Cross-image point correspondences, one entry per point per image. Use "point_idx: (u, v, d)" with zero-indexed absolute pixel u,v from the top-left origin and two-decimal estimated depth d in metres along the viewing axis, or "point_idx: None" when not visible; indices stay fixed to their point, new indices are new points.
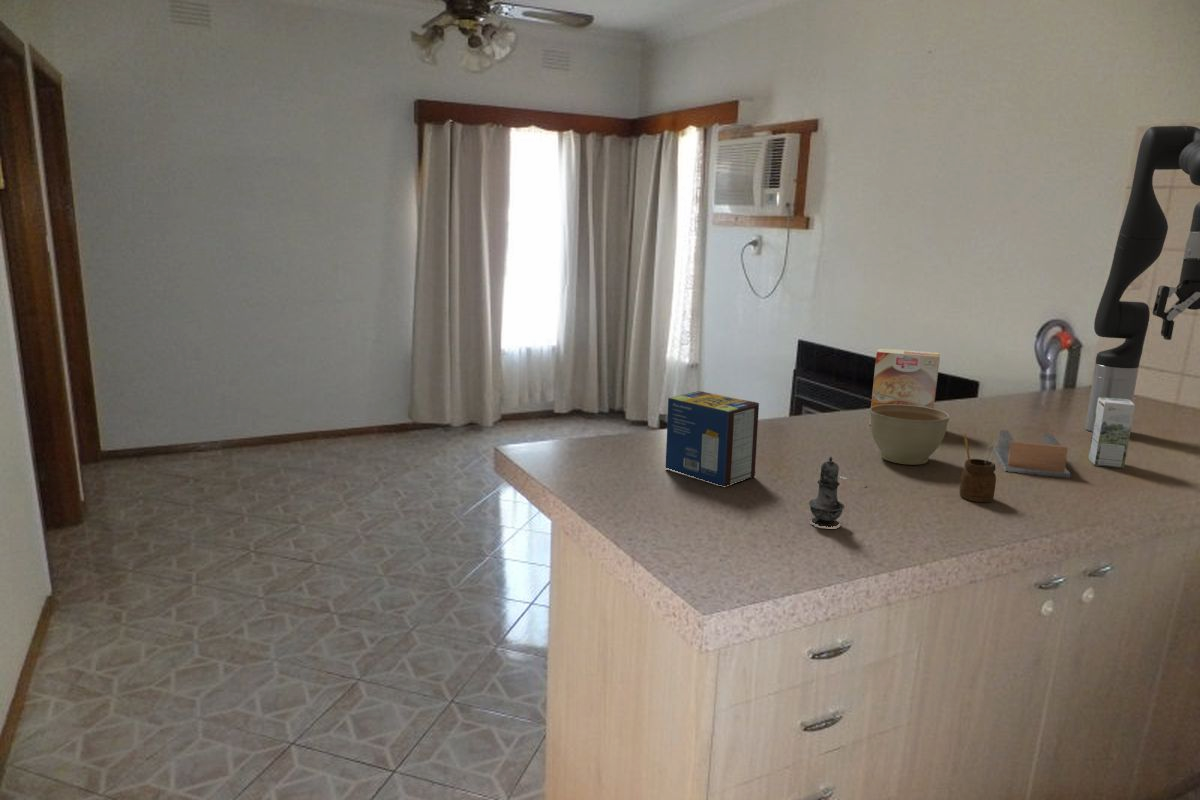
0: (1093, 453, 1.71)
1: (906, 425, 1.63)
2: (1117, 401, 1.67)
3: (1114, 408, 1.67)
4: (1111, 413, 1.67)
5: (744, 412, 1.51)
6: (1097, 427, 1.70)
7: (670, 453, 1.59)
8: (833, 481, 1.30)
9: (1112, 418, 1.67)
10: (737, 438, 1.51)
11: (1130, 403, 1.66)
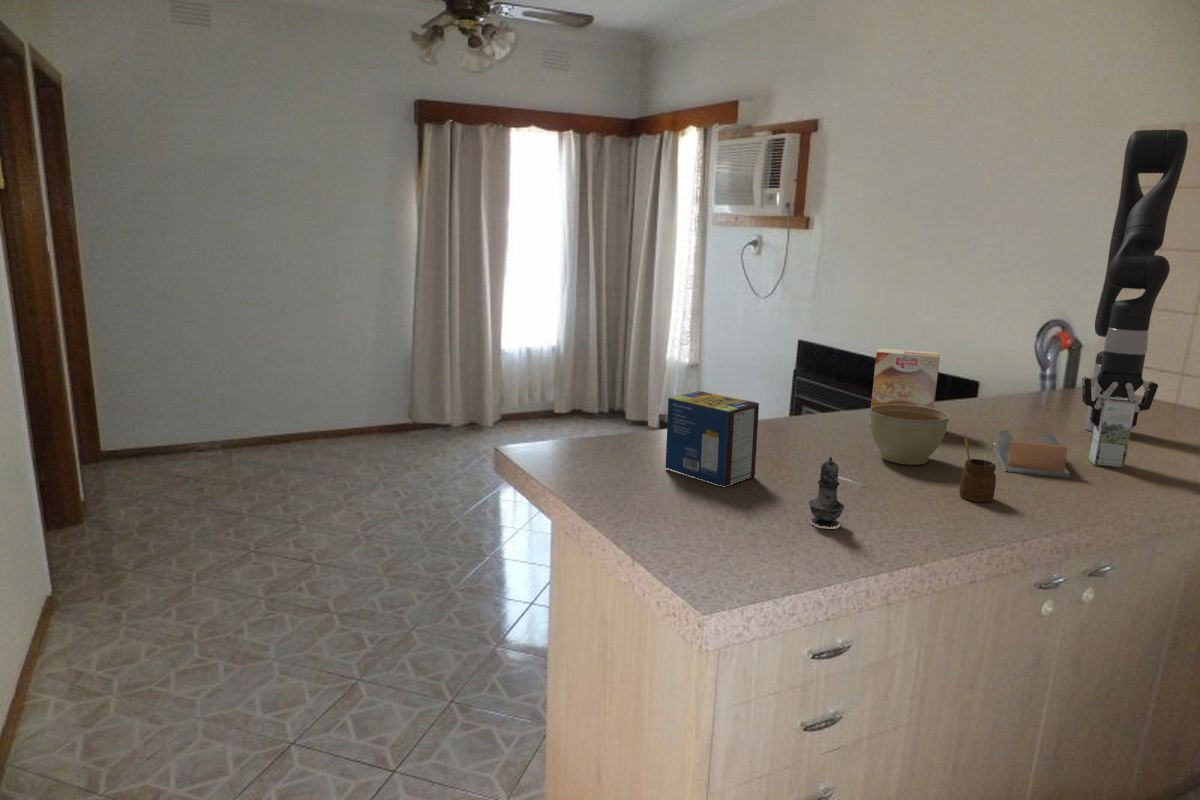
0: (1093, 453, 1.71)
1: (906, 425, 1.63)
2: (1117, 401, 1.67)
3: (1115, 408, 1.67)
4: (1111, 413, 1.67)
5: (744, 412, 1.51)
6: (1097, 427, 1.70)
7: (670, 453, 1.59)
8: (833, 481, 1.30)
9: (1112, 418, 1.67)
10: (737, 438, 1.51)
11: (1130, 403, 1.66)
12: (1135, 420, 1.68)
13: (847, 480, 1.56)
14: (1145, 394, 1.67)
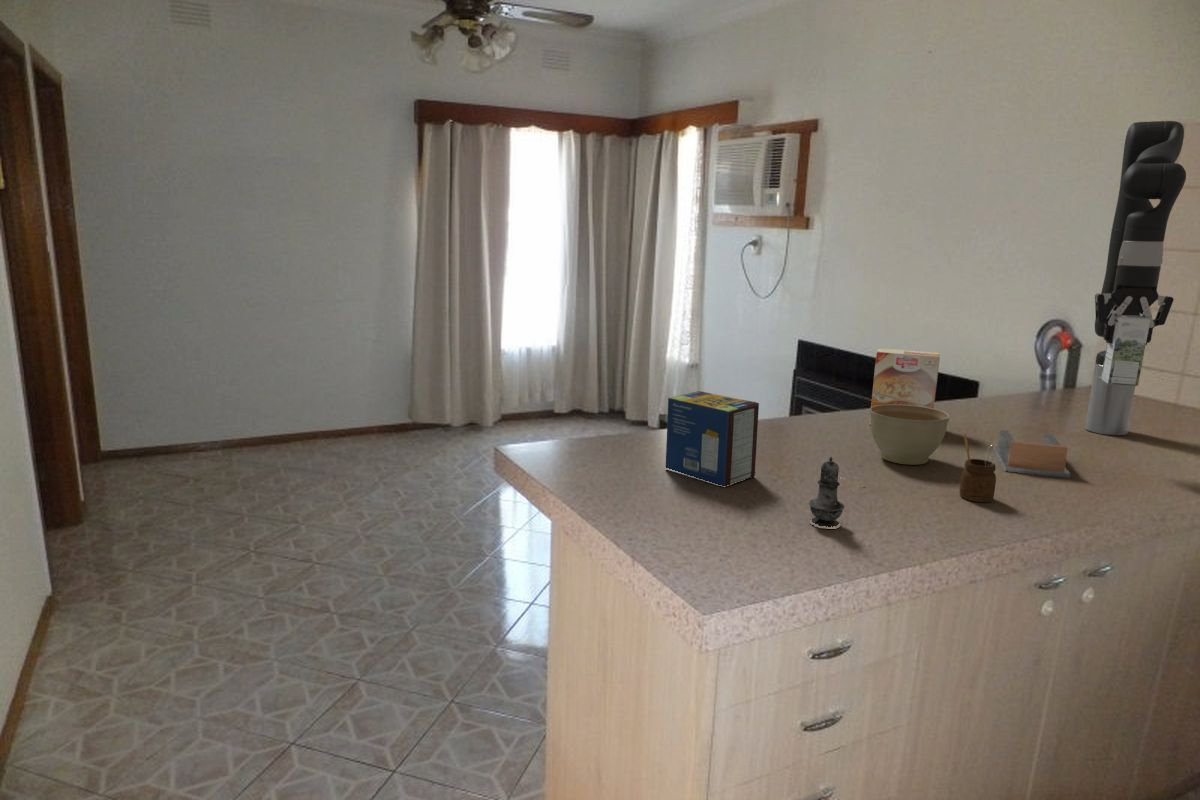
0: (1106, 372, 1.68)
1: (906, 425, 1.63)
2: (1131, 317, 1.63)
3: (1129, 323, 1.63)
4: (1125, 329, 1.63)
5: (744, 412, 1.51)
6: (1111, 345, 1.66)
7: (670, 453, 1.59)
8: (833, 481, 1.30)
9: (1126, 334, 1.63)
10: (736, 438, 1.51)
11: (1145, 318, 1.62)
12: (1150, 336, 1.64)
13: None
14: (1160, 309, 1.63)
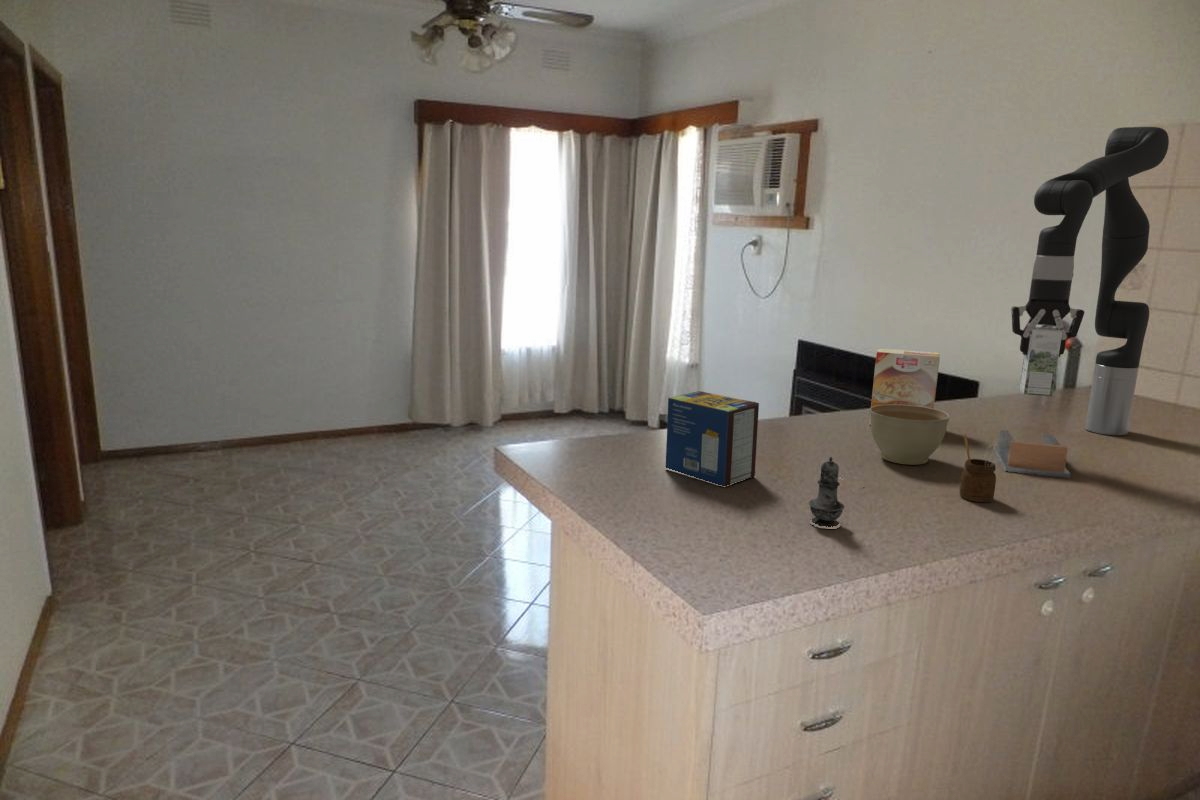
0: (1023, 382, 1.72)
1: (906, 425, 1.63)
2: (1045, 329, 1.68)
3: (1042, 335, 1.67)
4: (1039, 341, 1.67)
5: (744, 412, 1.51)
6: (1026, 356, 1.71)
7: (670, 453, 1.59)
8: (833, 481, 1.30)
9: (1040, 346, 1.68)
10: (737, 438, 1.51)
11: (1057, 330, 1.67)
12: (1063, 348, 1.68)
13: None
14: (1072, 322, 1.67)
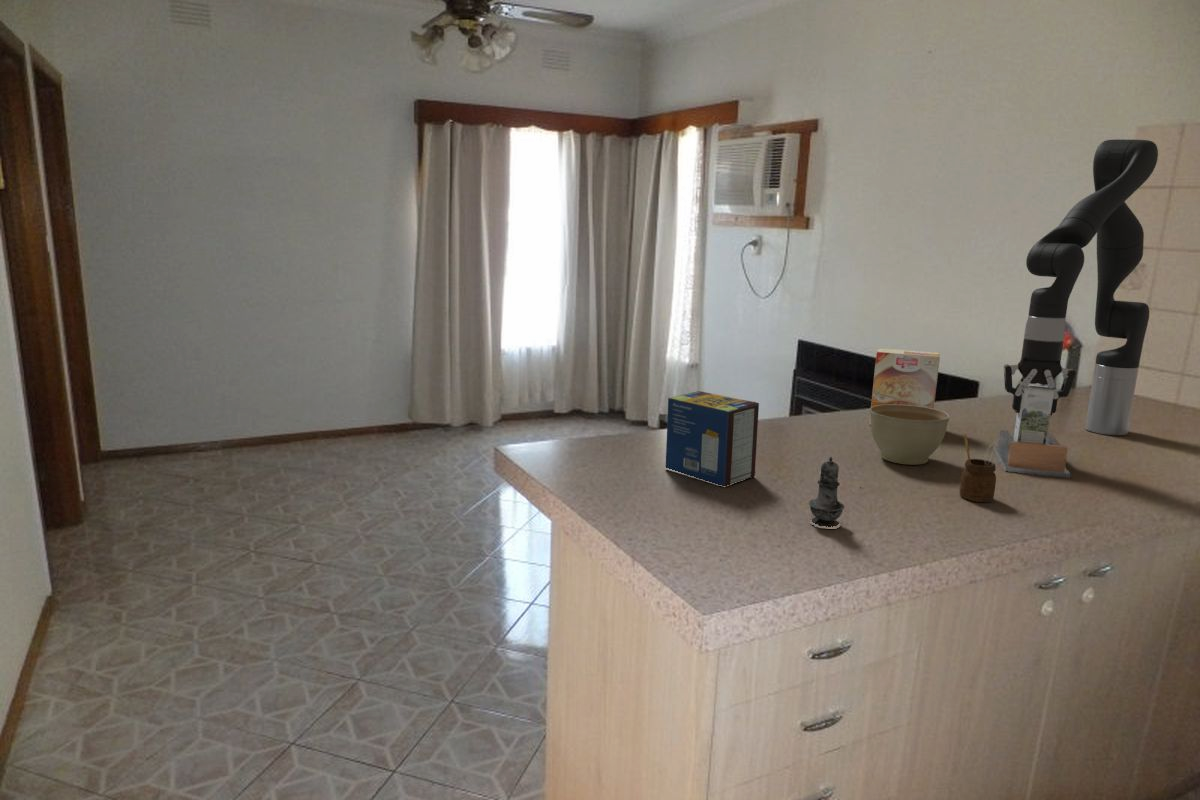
0: (1015, 440, 1.74)
1: (906, 425, 1.63)
2: (1037, 388, 1.69)
3: (1034, 395, 1.69)
4: (1031, 400, 1.69)
5: (744, 412, 1.51)
6: (1018, 414, 1.72)
7: (670, 453, 1.59)
8: (833, 481, 1.30)
9: (1032, 405, 1.69)
10: (737, 438, 1.51)
11: (1049, 390, 1.68)
12: (1055, 407, 1.70)
13: None
14: (1064, 381, 1.69)
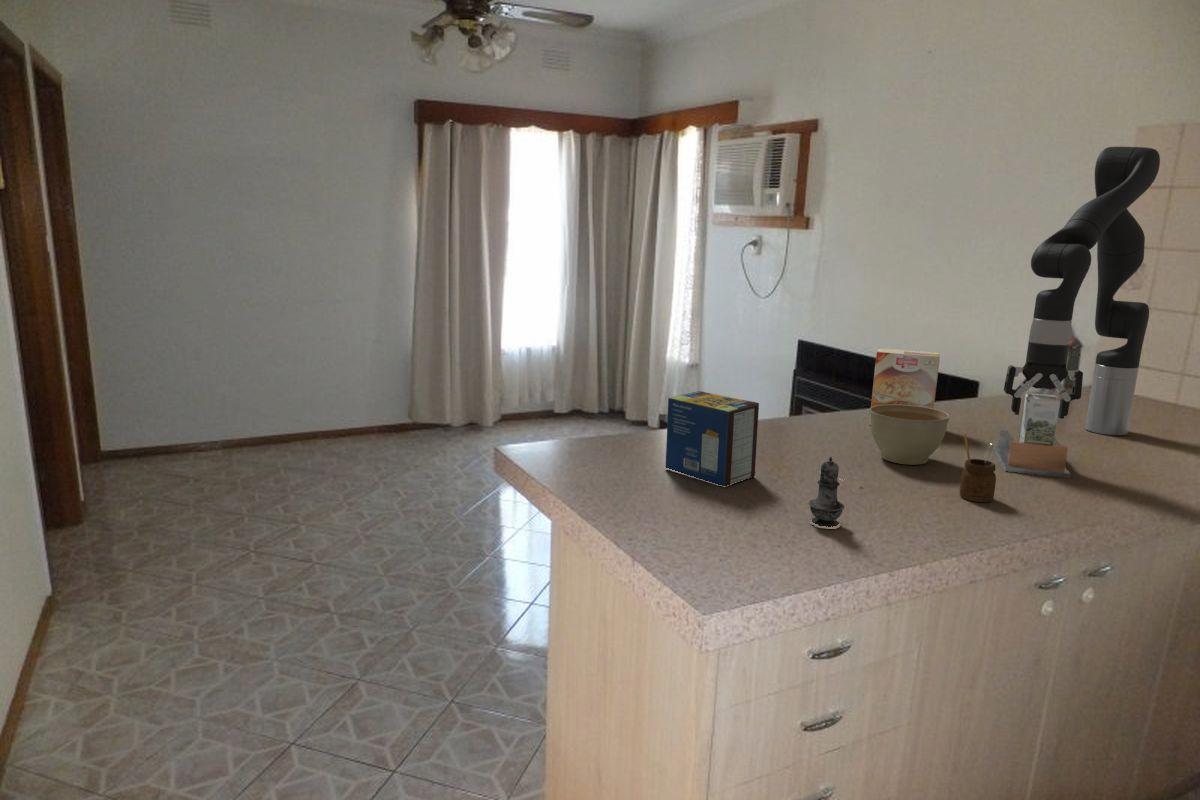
0: None
1: (906, 425, 1.63)
2: (1043, 397, 1.65)
3: (1040, 404, 1.64)
4: (1036, 410, 1.64)
5: (744, 412, 1.51)
6: (1024, 424, 1.68)
7: (670, 453, 1.59)
8: (833, 481, 1.30)
9: (1037, 414, 1.64)
10: (737, 438, 1.51)
11: (1055, 399, 1.63)
12: (1066, 410, 1.64)
13: None
14: (1073, 384, 1.64)
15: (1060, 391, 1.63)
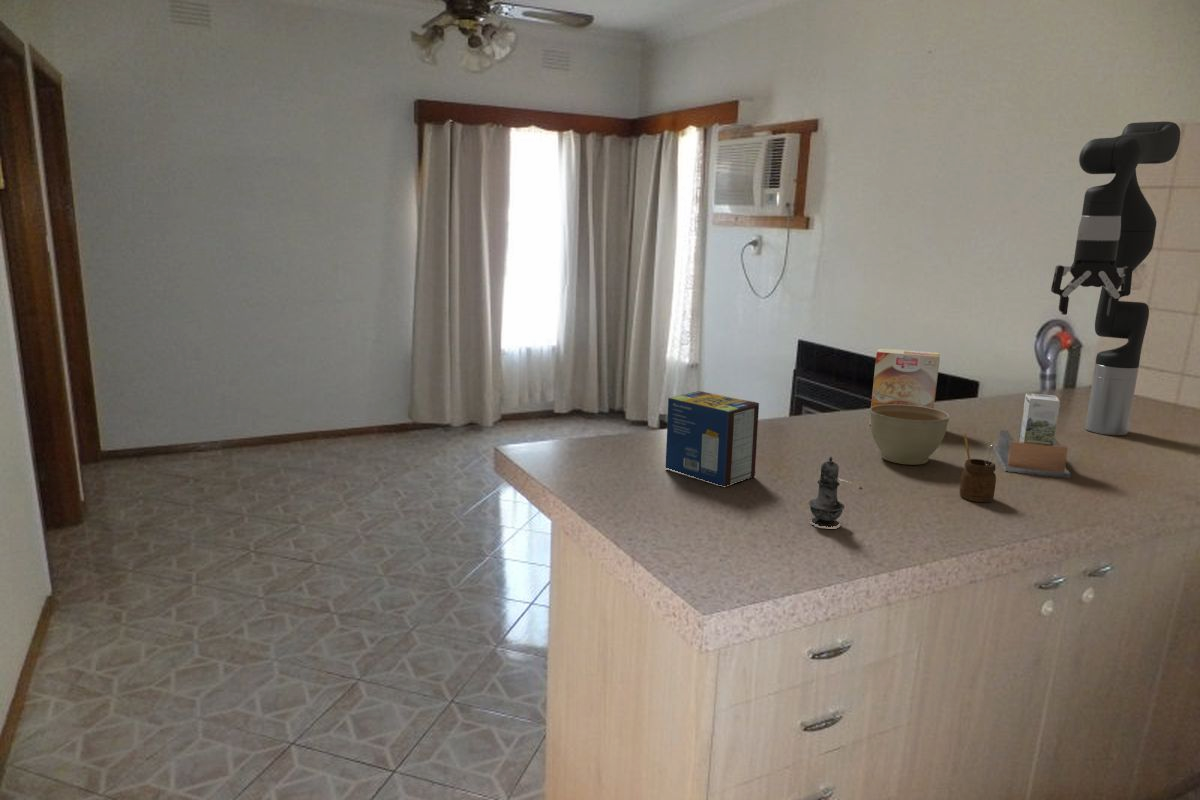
0: None
1: (906, 425, 1.63)
2: (1043, 397, 1.65)
3: (1040, 404, 1.64)
4: (1036, 410, 1.64)
5: (744, 412, 1.51)
6: (1024, 424, 1.68)
7: (670, 453, 1.59)
8: (833, 481, 1.30)
9: (1037, 414, 1.64)
10: (737, 438, 1.51)
11: (1055, 399, 1.63)
12: (1115, 307, 1.65)
13: None
14: (1122, 281, 1.64)
15: (1109, 288, 1.64)
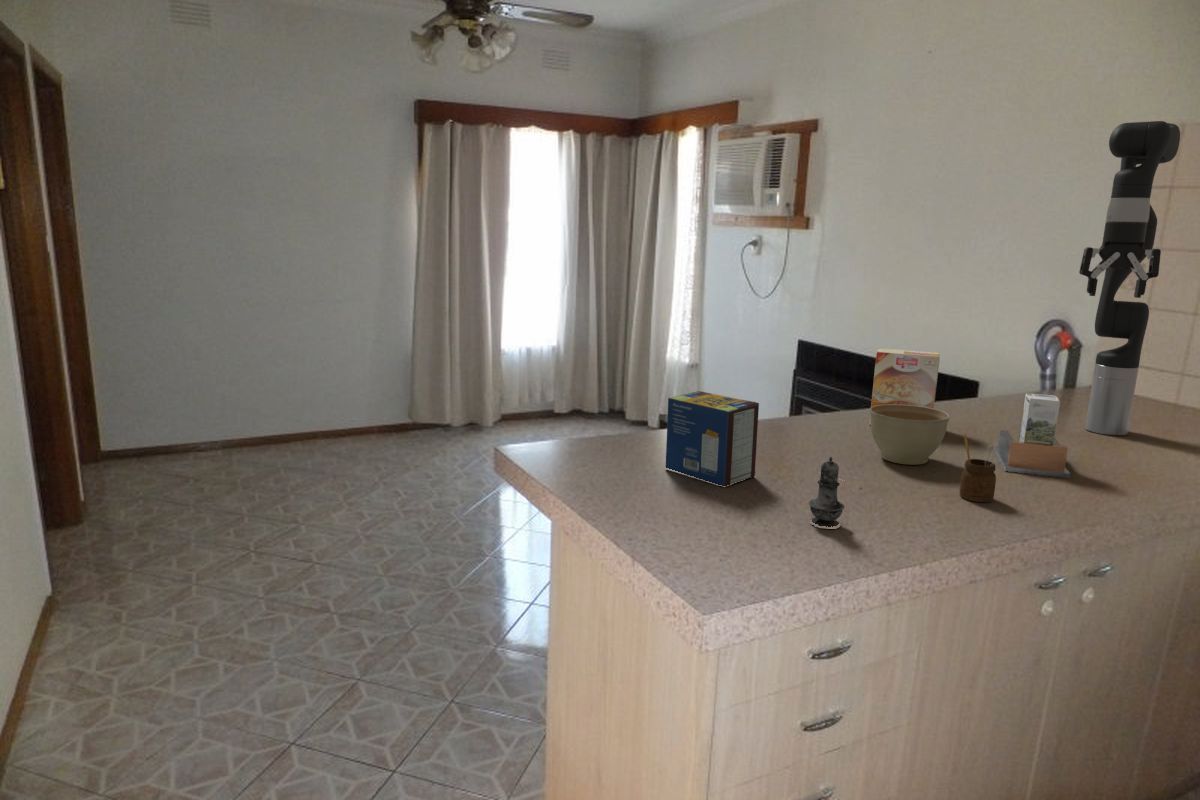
0: None
1: (906, 425, 1.63)
2: (1043, 397, 1.65)
3: (1040, 404, 1.64)
4: (1036, 410, 1.64)
5: (744, 412, 1.51)
6: (1024, 424, 1.68)
7: (670, 453, 1.59)
8: (833, 481, 1.30)
9: (1037, 414, 1.64)
10: (737, 438, 1.51)
11: (1055, 399, 1.63)
12: (1143, 288, 1.68)
13: None
14: (1150, 263, 1.67)
15: (1138, 269, 1.66)
